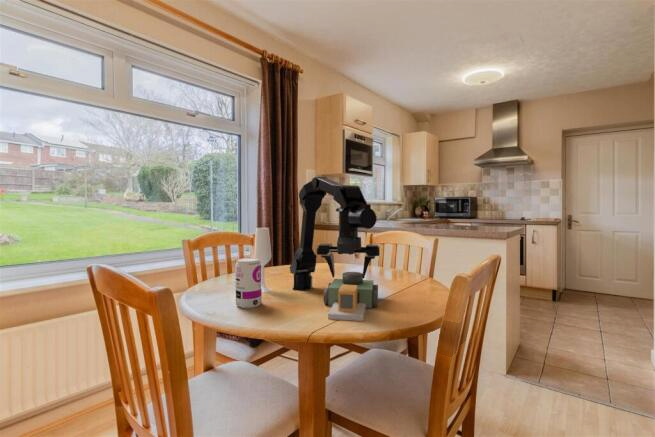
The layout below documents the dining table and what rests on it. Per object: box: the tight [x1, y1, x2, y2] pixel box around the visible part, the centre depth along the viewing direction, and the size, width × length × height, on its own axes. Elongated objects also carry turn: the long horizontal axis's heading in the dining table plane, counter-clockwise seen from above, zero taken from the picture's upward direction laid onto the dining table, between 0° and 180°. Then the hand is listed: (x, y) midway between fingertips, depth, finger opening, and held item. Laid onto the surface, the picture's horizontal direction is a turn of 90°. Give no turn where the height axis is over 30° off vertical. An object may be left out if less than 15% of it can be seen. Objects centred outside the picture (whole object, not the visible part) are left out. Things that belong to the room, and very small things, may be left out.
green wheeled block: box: [323, 271, 379, 322], centre depth 107 cm, size 17×25×9 cm
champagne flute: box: [253, 227, 273, 294], centre depth 127 cm, size 7×7×24 cm
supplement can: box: [234, 257, 263, 309], centre depth 109 cm, size 8×8×15 cm
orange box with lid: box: [338, 285, 357, 312], centre depth 102 cm, size 5×8×6 cm, turn 170°
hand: (348, 277), depth 102 cm, fingers open, 9 cm apart
